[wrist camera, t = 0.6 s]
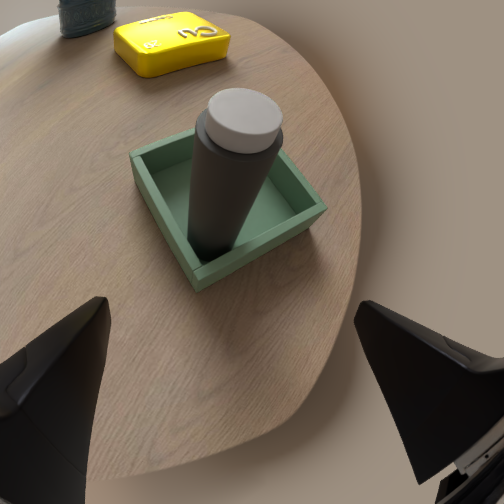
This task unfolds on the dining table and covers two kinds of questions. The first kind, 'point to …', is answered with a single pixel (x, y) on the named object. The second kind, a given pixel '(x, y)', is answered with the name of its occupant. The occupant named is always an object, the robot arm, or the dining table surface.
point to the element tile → (169, 43)
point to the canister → (85, 16)
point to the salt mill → (229, 166)
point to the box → (256, 224)
